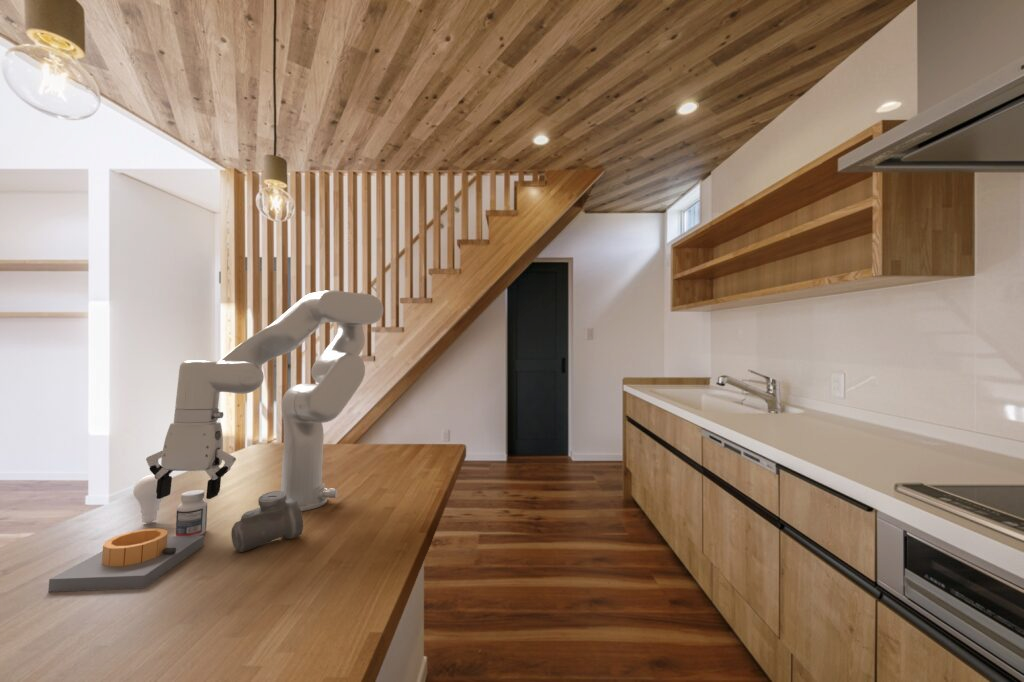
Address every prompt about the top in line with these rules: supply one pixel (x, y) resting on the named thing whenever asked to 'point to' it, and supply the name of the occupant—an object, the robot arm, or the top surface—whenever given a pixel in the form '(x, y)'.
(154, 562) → the plate
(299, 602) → the top surface
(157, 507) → the lightbulb
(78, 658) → the top surface
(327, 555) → the top surface
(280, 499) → the pipe fitting
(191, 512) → the pill bottle
